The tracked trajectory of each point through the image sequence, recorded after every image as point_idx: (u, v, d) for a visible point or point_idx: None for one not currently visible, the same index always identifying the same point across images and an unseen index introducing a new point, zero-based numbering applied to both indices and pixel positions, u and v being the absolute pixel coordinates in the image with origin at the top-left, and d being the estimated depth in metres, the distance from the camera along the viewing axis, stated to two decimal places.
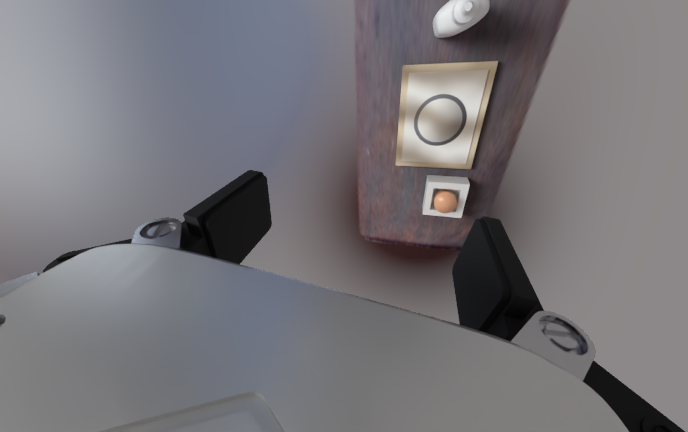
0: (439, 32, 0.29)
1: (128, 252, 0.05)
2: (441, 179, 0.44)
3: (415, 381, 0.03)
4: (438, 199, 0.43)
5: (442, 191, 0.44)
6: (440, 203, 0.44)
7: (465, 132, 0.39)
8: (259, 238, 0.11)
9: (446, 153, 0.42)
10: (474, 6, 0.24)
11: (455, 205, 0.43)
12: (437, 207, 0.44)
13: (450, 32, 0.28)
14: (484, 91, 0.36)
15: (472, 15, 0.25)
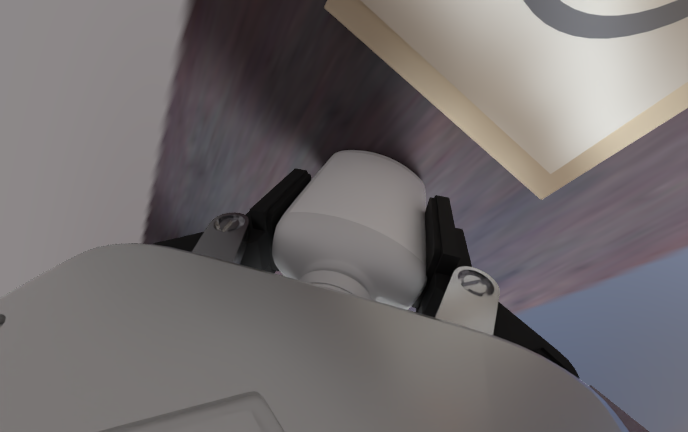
0: (424, 279, 0.08)
1: (128, 252, 0.05)
2: None
3: (415, 381, 0.03)
4: None
5: None
6: None
7: None
8: None
9: None
10: None
11: None
12: None
13: (397, 265, 0.07)
14: None
15: None
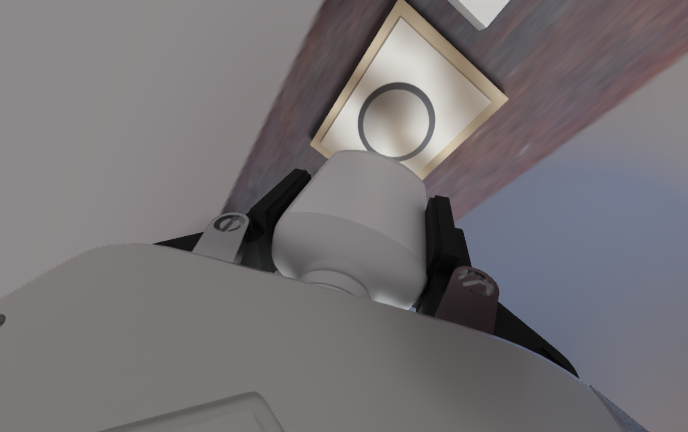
0: (425, 279, 0.08)
1: (128, 252, 0.05)
2: (460, 7, 0.19)
3: (415, 382, 0.03)
4: None
5: None
6: None
7: (373, 83, 0.24)
8: None
9: (417, 64, 0.22)
10: None
11: None
12: None
13: (398, 265, 0.07)
14: (331, 123, 0.27)
15: None
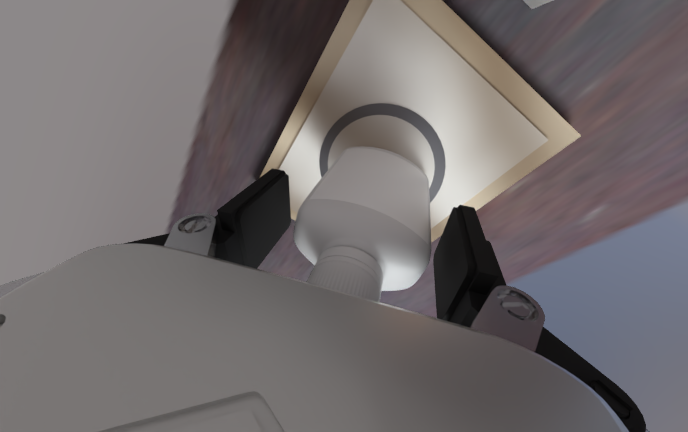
0: (428, 257, 0.09)
1: (128, 252, 0.05)
2: None
3: (415, 381, 0.03)
4: None
5: None
6: None
7: (339, 104, 0.14)
8: (280, 235, 0.12)
9: (414, 72, 0.12)
10: None
11: None
12: None
13: (404, 243, 0.09)
14: (280, 163, 0.17)
15: None
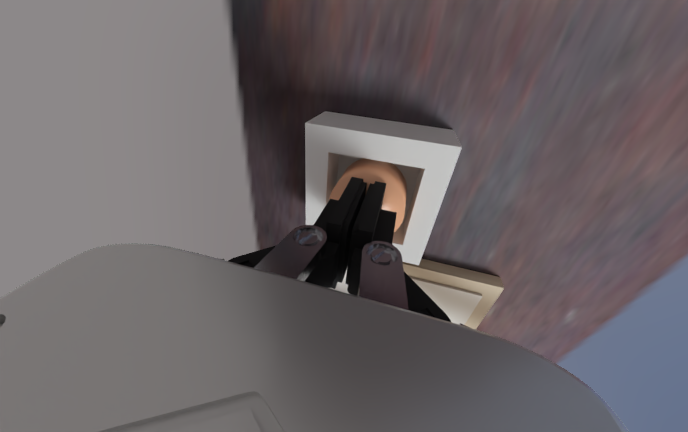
0: None
1: (128, 252, 0.05)
2: None
3: (415, 381, 0.03)
4: None
5: None
6: None
7: None
8: None
9: None
10: None
11: None
12: (393, 201, 0.11)
13: None
14: None
15: None
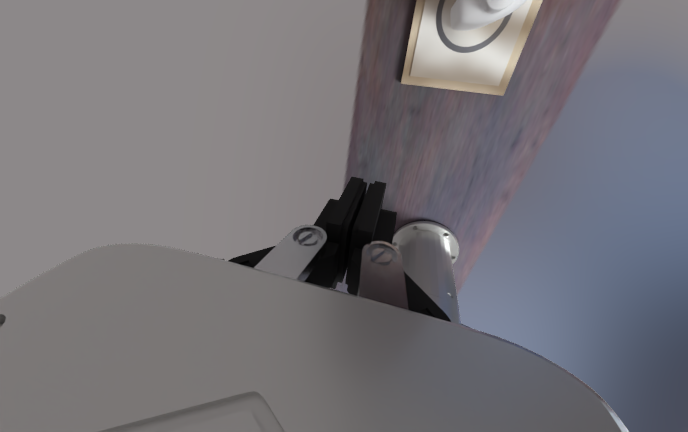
0: None
1: (128, 252, 0.05)
2: None
3: (415, 381, 0.03)
4: None
5: None
6: None
7: None
8: None
9: None
10: None
11: None
12: None
13: None
14: (413, 51, 0.31)
15: None
